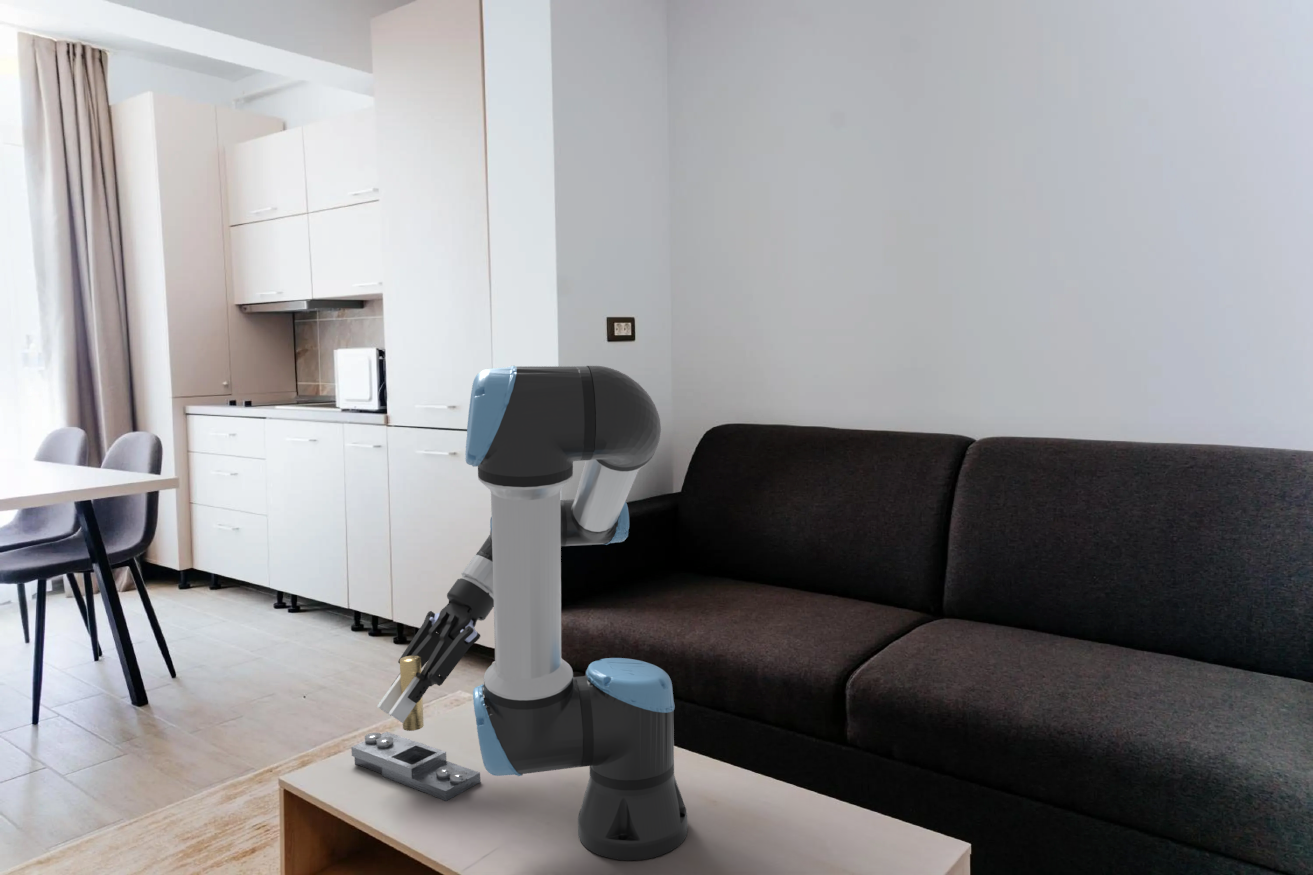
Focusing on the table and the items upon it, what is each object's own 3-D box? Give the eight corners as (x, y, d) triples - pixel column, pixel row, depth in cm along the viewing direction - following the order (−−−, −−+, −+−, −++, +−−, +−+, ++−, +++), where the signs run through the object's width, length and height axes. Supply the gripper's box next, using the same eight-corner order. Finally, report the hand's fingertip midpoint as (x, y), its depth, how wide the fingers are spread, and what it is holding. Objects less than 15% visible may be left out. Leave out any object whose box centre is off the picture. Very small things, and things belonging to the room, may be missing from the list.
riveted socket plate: (481, 782, 136) (481, 758, 135) (447, 801, 130) (446, 776, 130) (386, 748, 148) (385, 726, 148) (350, 764, 143) (349, 741, 142)
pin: (426, 727, 139) (423, 659, 138) (407, 732, 137) (403, 663, 136) (419, 720, 141) (416, 654, 140) (399, 725, 139) (396, 658, 138)
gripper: (520, 611, 142) (432, 741, 132) (466, 592, 154) (381, 711, 144) (491, 585, 138) (398, 718, 128) (438, 568, 150) (349, 688, 140)
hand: (389, 714), depth 136 cm, fingers closed on pin, 3 cm apart
